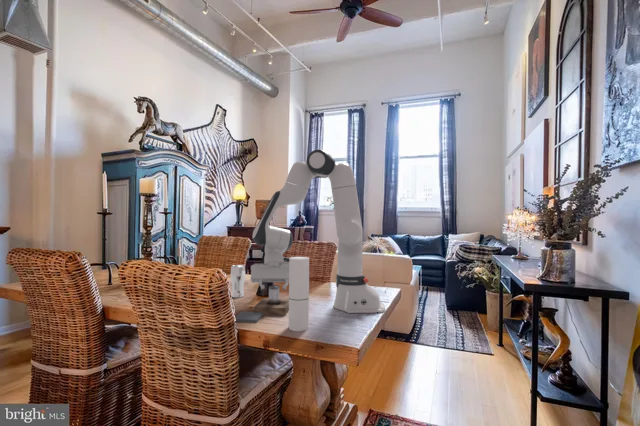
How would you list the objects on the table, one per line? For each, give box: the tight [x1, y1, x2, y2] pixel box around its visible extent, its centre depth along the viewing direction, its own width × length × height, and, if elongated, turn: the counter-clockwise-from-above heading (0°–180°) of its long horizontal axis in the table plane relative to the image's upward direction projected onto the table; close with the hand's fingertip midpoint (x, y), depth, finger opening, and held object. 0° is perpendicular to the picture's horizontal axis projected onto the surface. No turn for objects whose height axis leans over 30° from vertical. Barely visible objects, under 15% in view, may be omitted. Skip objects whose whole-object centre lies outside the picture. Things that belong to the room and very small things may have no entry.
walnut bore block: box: [253, 297, 289, 316], centre depth 132 cm, size 13×13×3 cm
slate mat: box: [235, 311, 264, 324], centre depth 121 cm, size 9×9×1 cm
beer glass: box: [230, 264, 246, 299], centre depth 153 cm, size 7×7×15 cm
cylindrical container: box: [288, 256, 310, 332], centre depth 112 cm, size 7×7×25 cm
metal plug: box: [268, 284, 280, 305], centre depth 132 cm, size 4×4×10 cm
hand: (273, 289), depth 135 cm, fingers open, 8 cm apart
